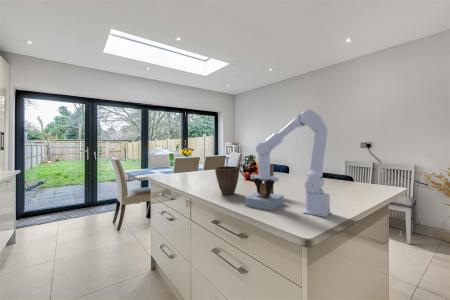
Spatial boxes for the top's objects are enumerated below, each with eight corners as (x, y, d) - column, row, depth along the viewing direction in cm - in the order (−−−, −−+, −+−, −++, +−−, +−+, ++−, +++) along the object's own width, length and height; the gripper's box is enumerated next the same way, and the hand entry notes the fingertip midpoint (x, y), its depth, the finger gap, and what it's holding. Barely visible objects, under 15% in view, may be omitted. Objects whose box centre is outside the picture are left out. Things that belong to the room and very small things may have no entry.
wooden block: (256, 195, 119) (256, 164, 119) (258, 193, 124) (258, 163, 123) (272, 196, 116) (271, 165, 115) (273, 194, 120) (273, 164, 119)
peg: (269, 199, 102) (269, 183, 101) (266, 201, 98) (266, 185, 98) (261, 198, 104) (261, 183, 103) (258, 200, 100) (258, 184, 100)
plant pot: (214, 197, 117) (213, 169, 116) (216, 191, 132) (215, 166, 131) (240, 197, 116) (240, 169, 116) (239, 190, 131) (239, 166, 131)
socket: (283, 203, 103) (283, 195, 102) (271, 210, 91) (271, 202, 91) (258, 199, 111) (258, 191, 111) (244, 205, 100) (244, 197, 100)
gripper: (247, 167, 102) (247, 194, 102) (274, 169, 93) (274, 198, 94) (254, 165, 108) (254, 191, 108) (280, 167, 99) (280, 195, 99)
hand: (264, 194), depth 101 cm, fingers closed on peg, 4 cm apart
